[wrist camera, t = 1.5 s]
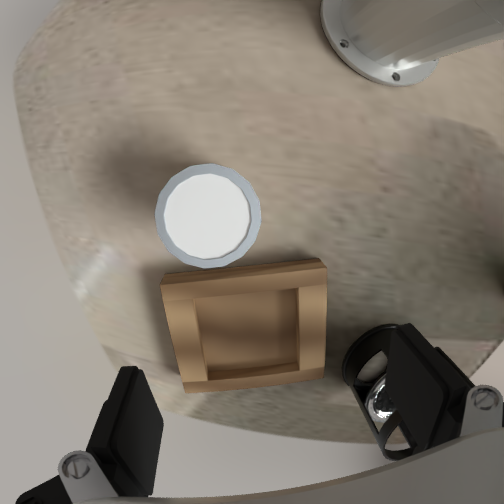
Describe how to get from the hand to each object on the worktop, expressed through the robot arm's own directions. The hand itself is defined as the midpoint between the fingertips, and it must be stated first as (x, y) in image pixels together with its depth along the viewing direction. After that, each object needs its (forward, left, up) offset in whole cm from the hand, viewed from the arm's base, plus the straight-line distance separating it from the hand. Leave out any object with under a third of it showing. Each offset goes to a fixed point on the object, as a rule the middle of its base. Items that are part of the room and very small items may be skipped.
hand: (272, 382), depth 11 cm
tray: (+8, 0, -18) cm, 20 cm away
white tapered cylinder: (-4, -2, -18) cm, 19 cm away
